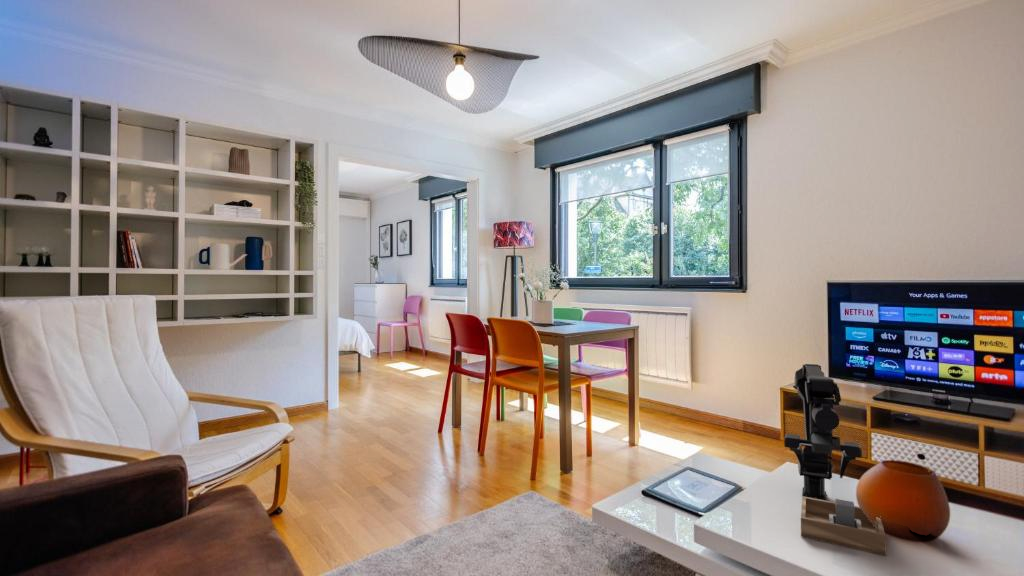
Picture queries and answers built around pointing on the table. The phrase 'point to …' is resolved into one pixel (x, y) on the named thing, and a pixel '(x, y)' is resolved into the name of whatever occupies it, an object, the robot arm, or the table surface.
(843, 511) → the grey rectangular block
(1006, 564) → the table surface
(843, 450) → the robot arm
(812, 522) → the walled box
